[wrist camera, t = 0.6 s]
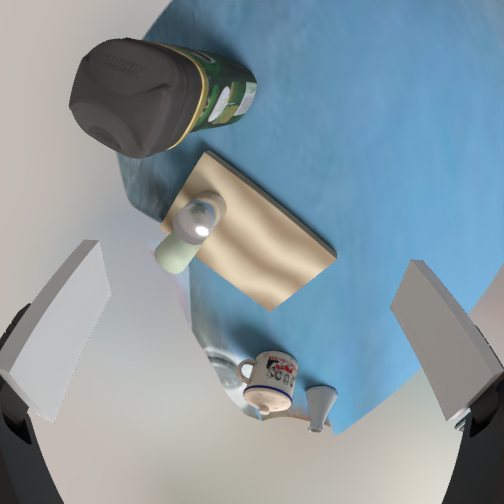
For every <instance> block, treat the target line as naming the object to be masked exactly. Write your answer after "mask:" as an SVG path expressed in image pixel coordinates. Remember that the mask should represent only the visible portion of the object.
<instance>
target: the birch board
mask: <svg viewBox="0 0 504 504" xmlns="http://www.w3.org/2000/svg"><path fill="white" fill-rule="evenodd" d="M205 190H212V191H215V192H217V193H219V194H220V195H221V196H222V197H223V198H224V200H225V202H226V205H227V212H226V214H225V216H224V217H223V219H222V220H221V221H220V222H219V224H218V225H217V226H216V227H215V229H214V230H213V231H212V232H211V234H210V235H209V236H208V238H207V239H206V240H205V241H204V243H203V245H202V246H201V248H200V249H199V250H198V252H197V253H196V254H195V255H194V256H196V257H197V258H198V259H200V260H201V261H202V262H204V263H205V264H206V265H208V266H209V267H210V268H211V269H213V270H214V271H215V272H217V273H218V274H219V275H221V276H222V277H223V278H225V279H226V280H227V281H229V282H230V283H231V284H233V285H234V286H236V287H237V288H238V289H240V290H241V291H242V292H244V293H245V294H246V295H248V296H249V297H250V298H252V299H253V300H255V301H256V302H257V303H259V304H260V305H262V306H263V307H264V308H266V309H267V310H268V311H272V310H273V309H274V308H276V307H277V306H278V305H279V304H281V303H282V302H283V301H285V300H286V299H287V298H289V297H290V296H291V295H293V294H294V293H295V292H296V291H298V290H299V289H300V288H302V287H303V286H304V285H305V284H307V283H308V282H309V281H310V280H312V279H313V278H314V277H315V276H317V275H318V274H319V273H320V272H322V271H323V270H324V269H325V268H326V267H328V266H329V265H330V264H331V263H333V262H334V261H335V260H336V259H337V253H336V252H335V251H334V250H333V249H332V248H331V247H330V246H328V245H327V244H326V243H325V242H324V241H323V240H321V239H320V238H319V237H318V236H317V235H316V234H315V233H313V232H312V231H311V230H310V229H309V228H308V227H306V226H305V225H304V224H303V223H302V222H300V221H299V220H298V219H297V218H296V217H294V216H293V215H292V214H291V213H290V212H288V211H287V210H286V209H285V208H284V207H282V206H281V205H280V204H279V203H278V202H276V201H275V200H274V199H273V198H271V197H270V196H269V195H268V194H266V193H265V192H264V191H263V190H261V189H260V188H259V187H258V186H256V185H255V184H254V183H253V182H251V181H250V180H249V179H248V178H246V177H245V176H244V175H242V174H241V173H240V172H238V171H237V170H236V169H235V168H233V167H232V166H231V165H229V164H228V163H227V162H225V161H224V160H223V159H221V158H220V157H219V156H217V155H216V154H215V153H213V152H212V151H211V150H207V151H205V152H204V153H203V155H202V156H201V158H200V160H199V161H198V163H197V164H196V166H195V167H194V169H193V171H192V172H191V174H190V176H189V177H188V179H187V180H186V182H185V184H184V185H183V187H182V189H181V190H180V192H179V194H178V196H177V197H176V199H175V201H174V202H173V204H172V206H171V208H170V209H169V211H168V213H167V215H166V217H165V218H164V220H163V222H162V224H161V226H160V229H161V230H162V231H164V232H165V233H166V234H168V235H169V234H170V233H171V232H172V231H173V230H174V228H173V218H174V216H175V214H176V213H177V212H178V211H180V210H181V209H182V208H183V207H184V206H185V205H186V204H188V203H189V202H190V201H191V200H192V199H193V198H195V197H196V196H197V195H198V194H199V193H200V192H202V191H205Z"/></svg>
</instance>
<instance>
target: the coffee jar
mask: <svg viewBox="0 0 504 504" xmlns="http://www.w3.org/2000/svg"><path fill="white" fill-rule="evenodd" d="M256 90H257V82H256V79H255V77H254V75H253V74H252V73H251V72H250V71H249V70H247V69H246V68H244V67H243V66H241V65H239V64H238V63H236V62H234V61H232V60H230V59H227V58H225V57H222V56H219V55H216V54H212V53H208V52H204V51H199V50H194V49H190V48H185V47H180V46H175V45H170V44H164V43H158V42H152V41H145V40H136V39H131V38H123V39H111V40H108V41H105V42H102V43H101V44H99V45H97V46H96V47H95V48H93V49H92V50H91V51H90V52H89V53H88V54H87V55H86V56H84V57H83V59H82V60H81V63H80V65H79V68H78V71H77V73H76V77H75V80H74V84H73V87H72V92H71V96H70V102H69V108H70V110H71V111H72V113H73V116H74V118H75V120H76V121H77V123H78V125H79V126H80V127H81V128H82V130H84V131H85V132H86V133H87V134H88V135H90V136H91V137H93V138H94V139H96V140H97V141H99V142H101V143H103V144H104V145H106V146H107V147H109V148H111V149H113V150H115V151H117V152H119V153H121V154H123V155H125V156H127V157H130V158H144V157H148V156H151V155H153V154H155V153H158V152H161V151H165V150H169V149H171V148H173V147H174V146H176V145H177V144H179V143H180V142H181V141H182V140H183V139H184V138H185V137H186V136H187V135H188V134H189V133H191V132H195V131H199V130H204V129H209V128H215V127H220V126H225V125H229V124H232V123H235V122H237V121H238V120H239V119H240V118H241V117H242V116H243V115H244V114H245V112H246V111H247V110H248V108H249V107H250V105H251V103H252V101H253V99H254V96H255V94H256Z"/></svg>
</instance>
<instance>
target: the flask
mask: <svg viewBox="0 0 504 504" xmlns="http://www.w3.org/2000/svg"><path fill="white" fill-rule="evenodd" d="M305 393H306V397H307V401H308V405H309V410H310V414H311V424H310V427H309V428H308V430H309V431H310V432H312V433H321V432H323V431H324V429H323V424H324V421H325V418H326V416H327V414H328V412H329V410H330V409H331V407H332V405H333V403H334V402H335V400H336V398H337V396H338V394H337V392H336V390H335V389H333V388H330V387H327V386H316V387H311V388H310V389H308V390H306V391H305Z"/></svg>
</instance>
